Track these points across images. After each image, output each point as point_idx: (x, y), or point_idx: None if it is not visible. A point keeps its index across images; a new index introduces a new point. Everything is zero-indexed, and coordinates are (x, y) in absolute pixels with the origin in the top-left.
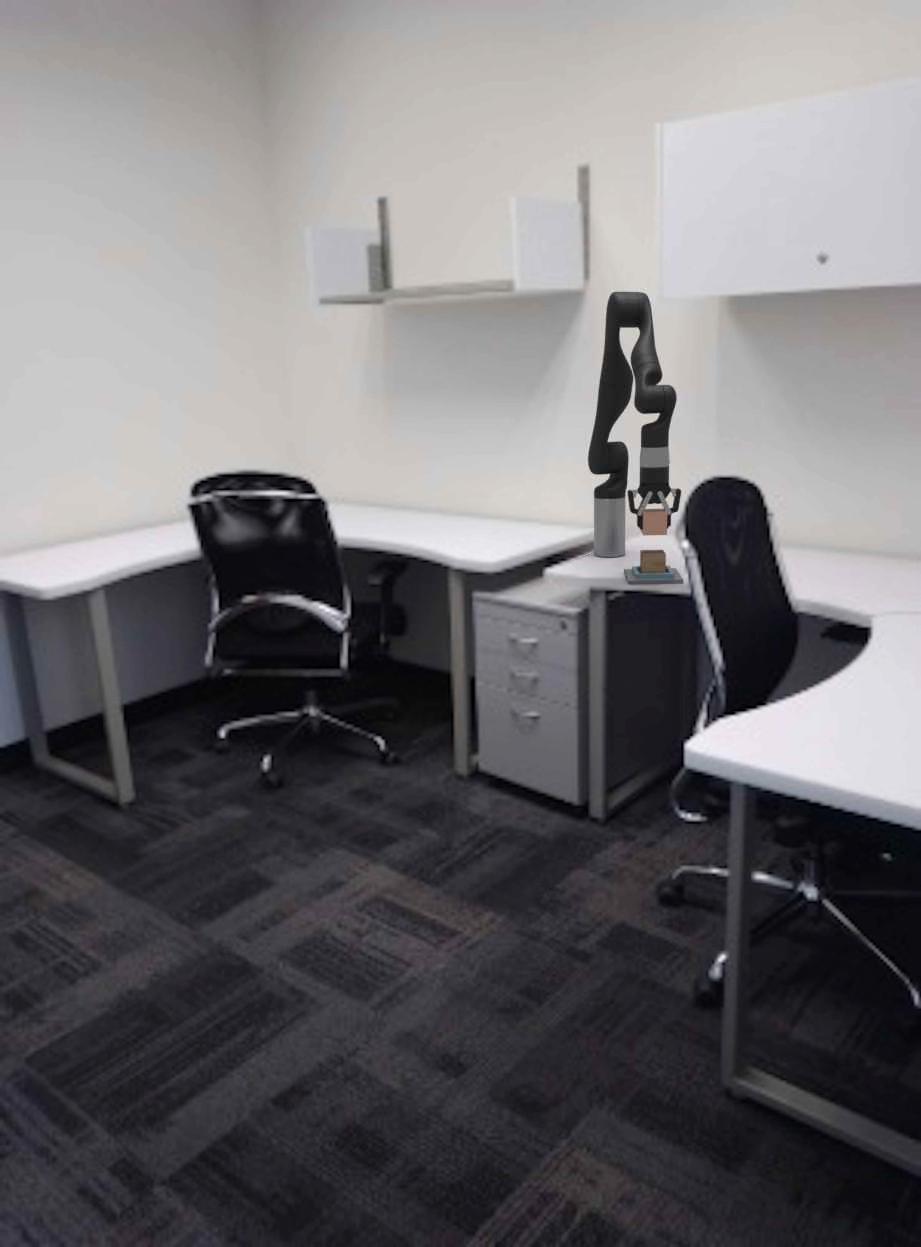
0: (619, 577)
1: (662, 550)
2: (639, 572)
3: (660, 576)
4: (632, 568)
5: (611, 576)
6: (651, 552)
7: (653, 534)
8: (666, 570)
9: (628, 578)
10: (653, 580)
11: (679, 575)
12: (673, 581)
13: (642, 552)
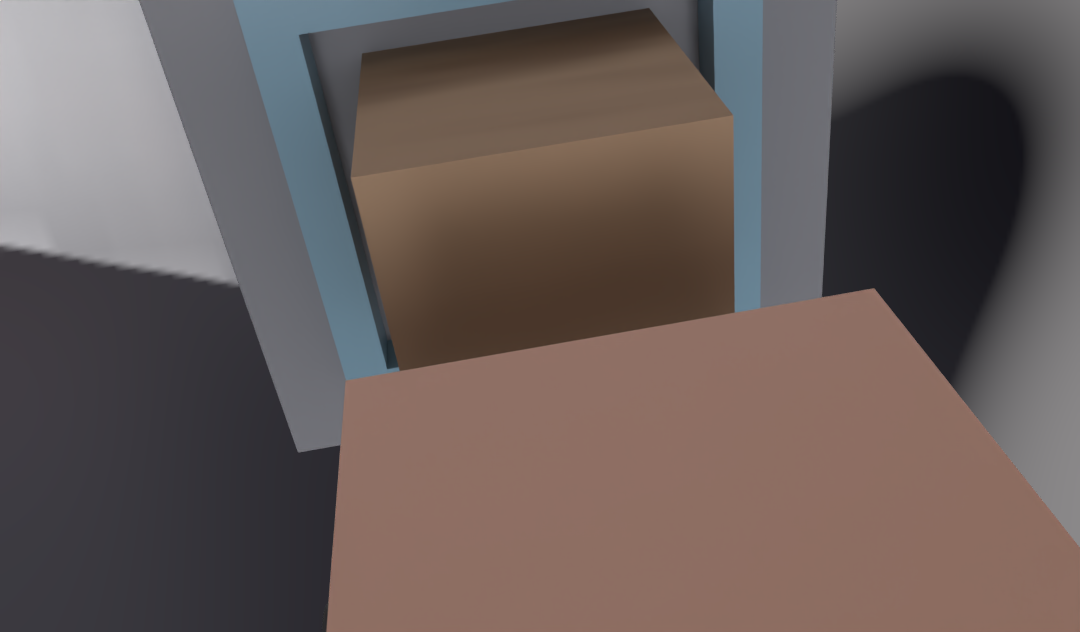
0: (127, 149)
1: (716, 189)
2: (358, 87)
3: None
4: (253, 56)
5: (8, 104)
6: (542, 338)
7: None
8: (700, 3)
9: (278, 374)
10: None
11: (814, 203)
12: None
13: (407, 345)
